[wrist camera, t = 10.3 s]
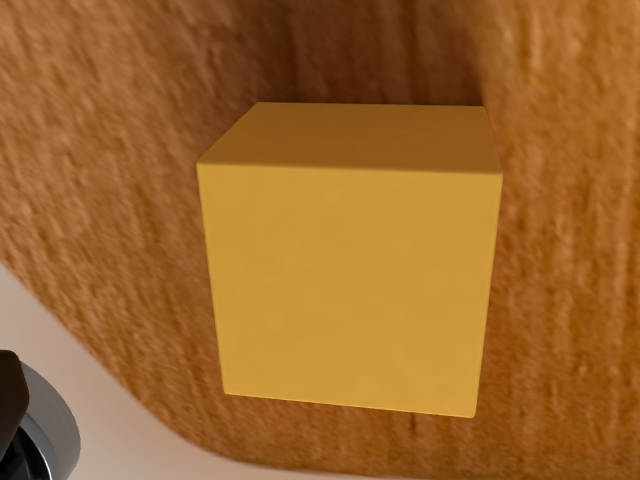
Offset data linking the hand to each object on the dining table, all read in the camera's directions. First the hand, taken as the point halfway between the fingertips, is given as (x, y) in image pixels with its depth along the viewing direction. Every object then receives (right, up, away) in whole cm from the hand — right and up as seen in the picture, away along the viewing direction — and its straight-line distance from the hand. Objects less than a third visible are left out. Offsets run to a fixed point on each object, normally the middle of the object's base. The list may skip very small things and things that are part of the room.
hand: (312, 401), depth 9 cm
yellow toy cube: (+1, +3, +6) cm, 7 cm away
